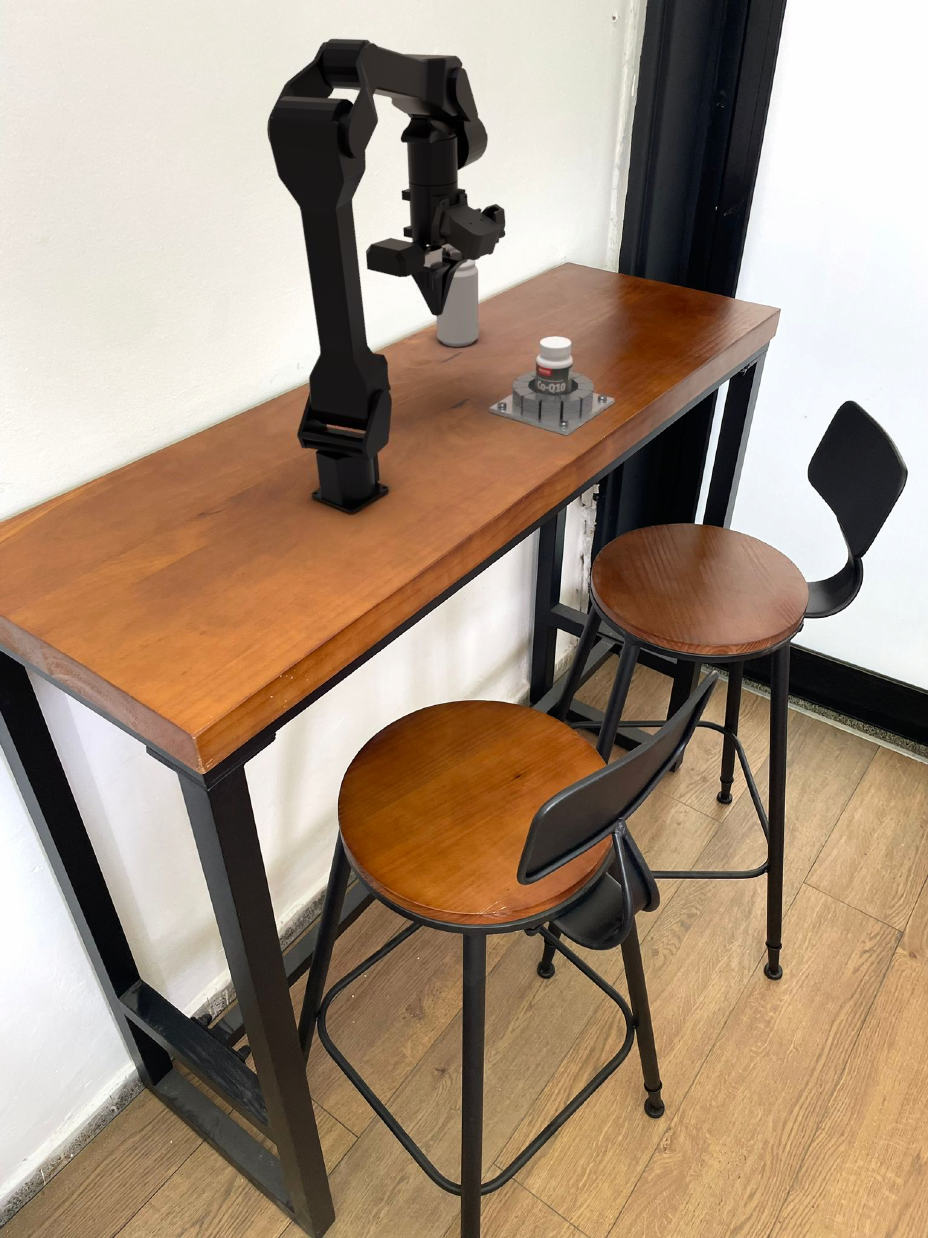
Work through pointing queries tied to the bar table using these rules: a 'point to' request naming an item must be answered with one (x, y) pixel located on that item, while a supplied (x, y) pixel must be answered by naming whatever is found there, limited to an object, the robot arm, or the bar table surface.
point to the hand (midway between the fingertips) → (437, 314)
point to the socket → (552, 404)
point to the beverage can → (460, 308)
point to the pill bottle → (554, 367)
